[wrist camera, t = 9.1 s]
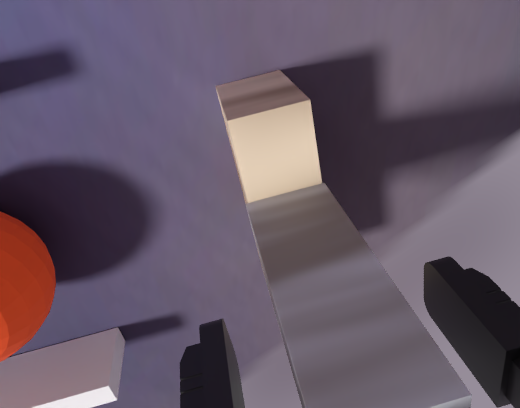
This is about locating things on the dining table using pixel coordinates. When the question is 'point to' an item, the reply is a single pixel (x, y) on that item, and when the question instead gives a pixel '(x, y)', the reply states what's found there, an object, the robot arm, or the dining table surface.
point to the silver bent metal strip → (326, 266)
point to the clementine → (22, 284)
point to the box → (65, 374)
